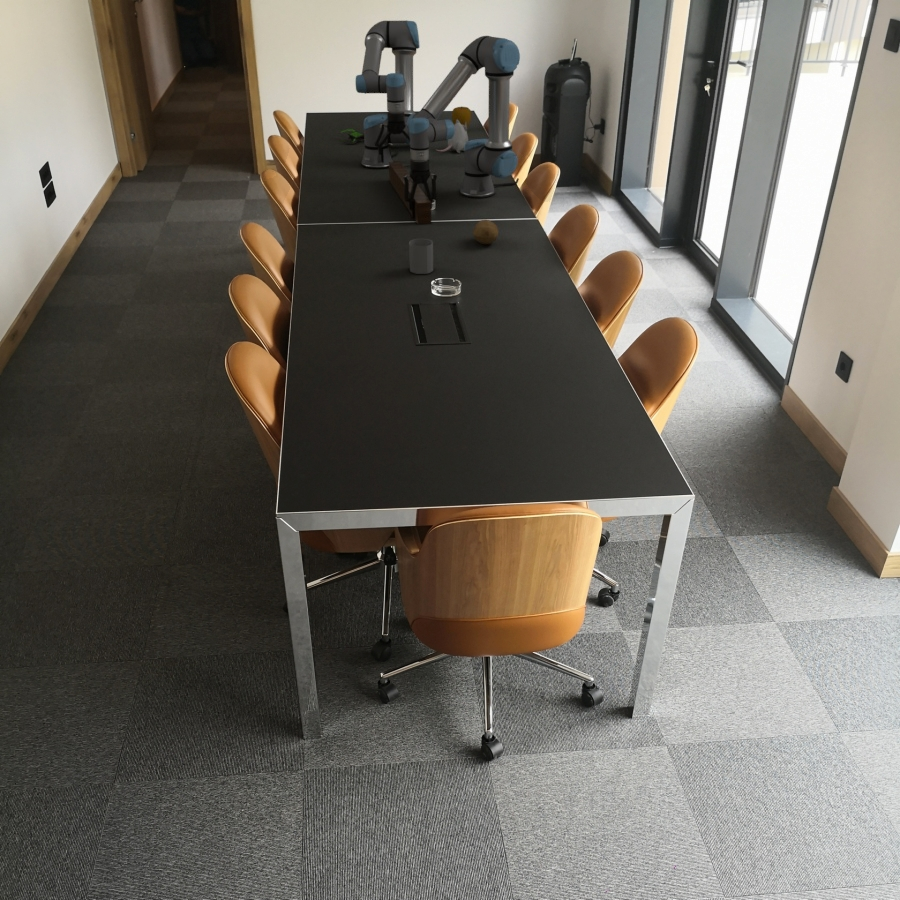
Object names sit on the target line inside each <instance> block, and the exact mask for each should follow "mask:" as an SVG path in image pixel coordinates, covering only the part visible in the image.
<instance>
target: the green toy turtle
mask: <svg viewBox="0 0 900 900" xmlns="http://www.w3.org/2000/svg"><path fill="white" fill-rule="evenodd" d="M344 132H349V133H347V136H348V137H347V139H348V140H350V141H345V140H342V139H338V141H340V142H342V143H344V144H345V145H346V144H347V145H355V144H356V143H357V142H360V141H363V140H364V133H362V132H359V131H357V130H356V129H355V128H345V129H344V130H340V131H339V134H342V133H344Z"/></svg>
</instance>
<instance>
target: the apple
mask: <svg viewBox="0 0 900 900" xmlns="http://www.w3.org/2000/svg"><path fill="white" fill-rule="evenodd" d="M456 120H458V121H459V122H460V124H461V125H464V126H465V123H466V124H467V129H468V128H469V126H470V124H471V121H472V111H471V108H469V107H467V106H462V105H461V106H457V107H454V108H452V111H451V121H452V122H453V124H456Z"/></svg>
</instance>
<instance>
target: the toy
mask: <svg viewBox="0 0 900 900" xmlns="http://www.w3.org/2000/svg"><path fill="white" fill-rule="evenodd" d="M454 127H455V133H454V136H453V137H452V138H451V139H448V140H447V147H446V148H444V149H436V151H437V152H442V153H444V152H446V151H449V152H452V151H456V153H458V154H461V152H462V151H463V152H464V150H465V144H466V142H467V141H469V136H468V128H467V124H466V123H465V126H464V125H461V124H460V122H459V121H458V120H456V124H454Z"/></svg>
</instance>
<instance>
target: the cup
mask: <svg viewBox="0 0 900 900" xmlns="http://www.w3.org/2000/svg"><path fill="white" fill-rule="evenodd" d="M408 253H409V272H411V273H412V274H416V275H426V274H430V273H432V272H434V241H433V240H431V239H428V238H422V237H421V238H420V237H419V238H414V239H411V240H410V241H409V242H408Z"/></svg>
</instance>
